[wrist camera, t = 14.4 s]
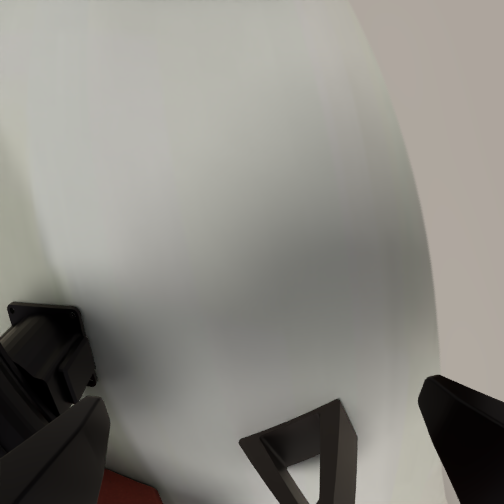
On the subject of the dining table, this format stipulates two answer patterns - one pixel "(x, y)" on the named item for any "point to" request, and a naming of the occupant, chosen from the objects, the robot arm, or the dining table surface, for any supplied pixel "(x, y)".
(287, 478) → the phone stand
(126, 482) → the plant pot
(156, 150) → the dining table surface
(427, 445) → the dining table surface
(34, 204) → the dining table surface
